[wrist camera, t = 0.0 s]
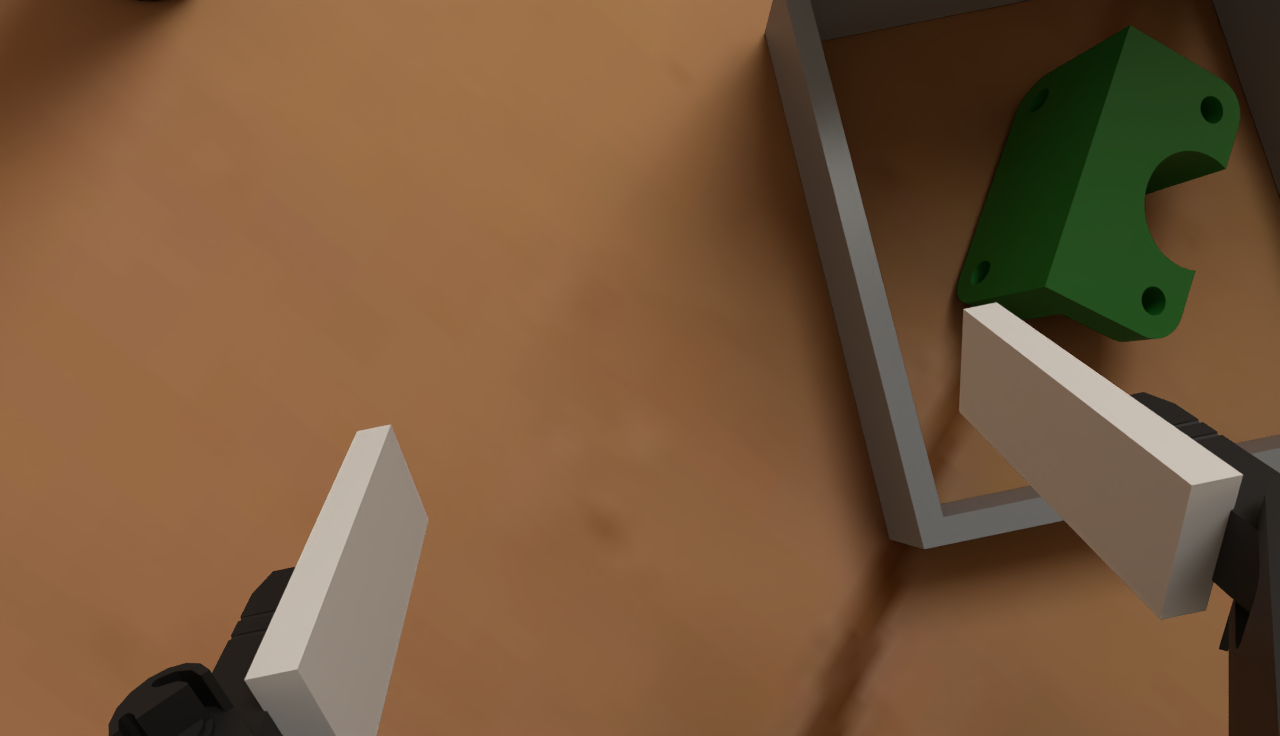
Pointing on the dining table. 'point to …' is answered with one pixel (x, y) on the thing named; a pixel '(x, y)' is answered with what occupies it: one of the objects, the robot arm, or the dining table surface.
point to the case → (798, 21)
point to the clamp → (1099, 188)
